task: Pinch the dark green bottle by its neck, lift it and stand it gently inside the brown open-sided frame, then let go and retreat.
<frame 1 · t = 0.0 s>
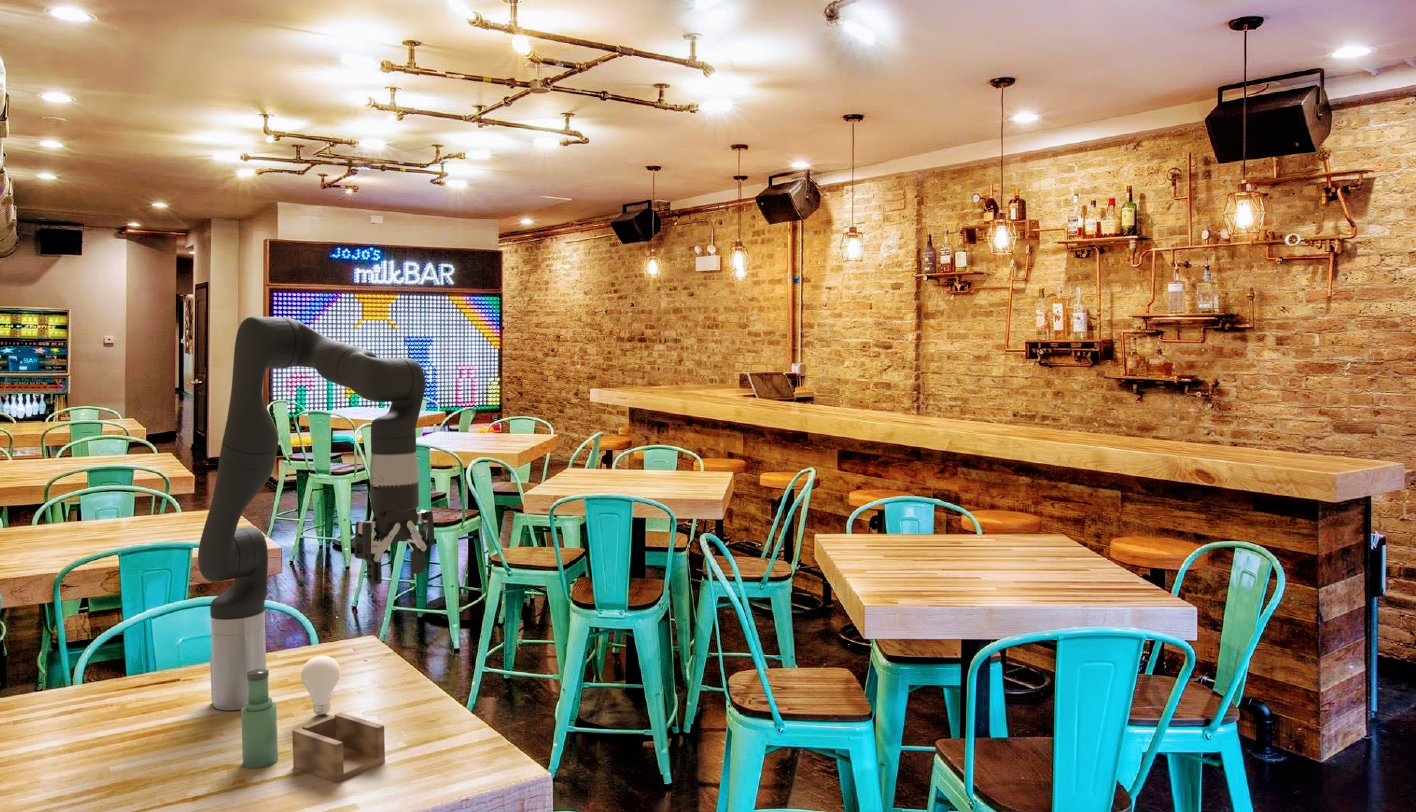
hand: (396, 578, 157), 29 cm above the table, fingers open, 8 cm apart
light bulb: (322, 716, 176), on the table
bottle: (260, 761, 156), on the table
brown open-sided frame: (339, 764, 154), on the table
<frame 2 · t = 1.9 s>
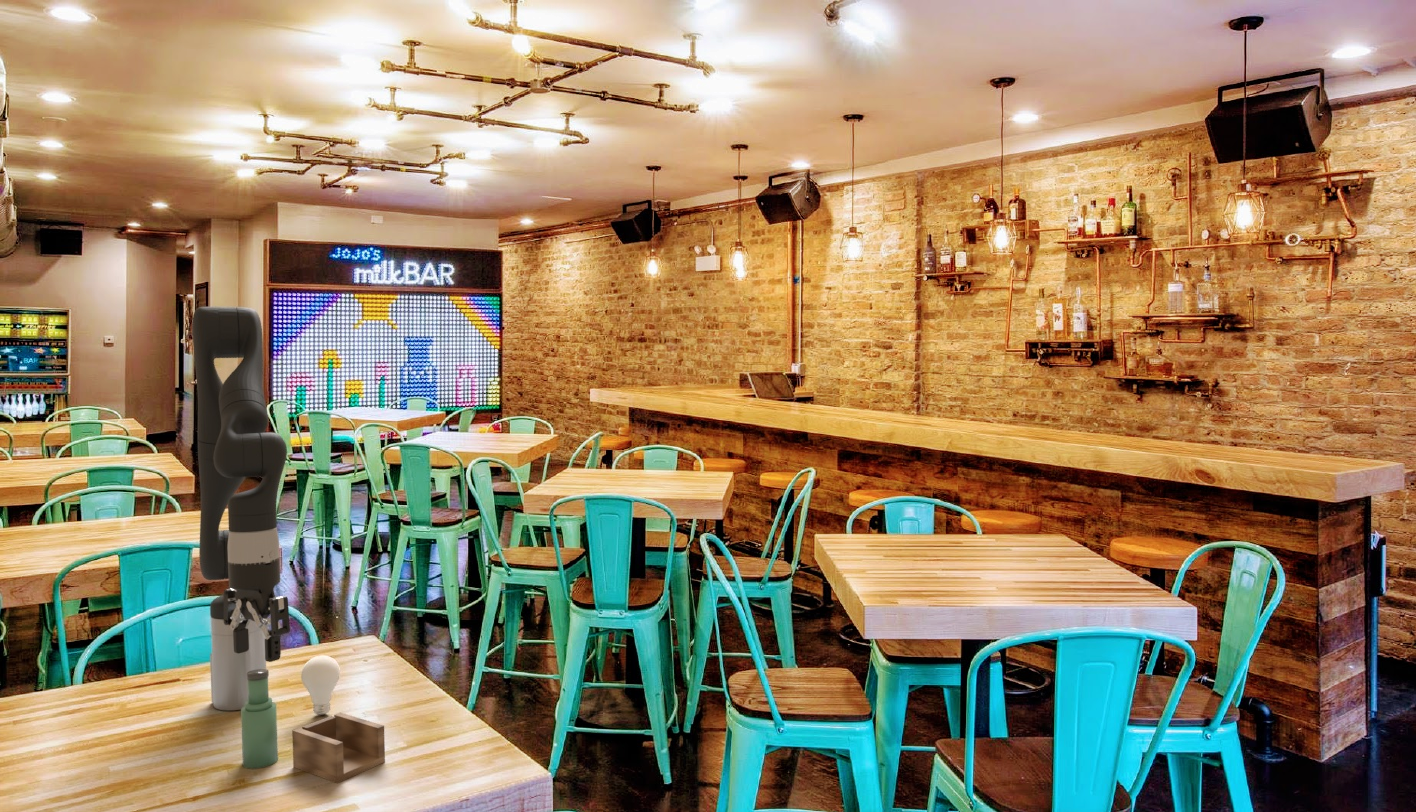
hand: (257, 656, 155), 17 cm above the table, fingers open, 8 cm apart
nothing on the table moved.
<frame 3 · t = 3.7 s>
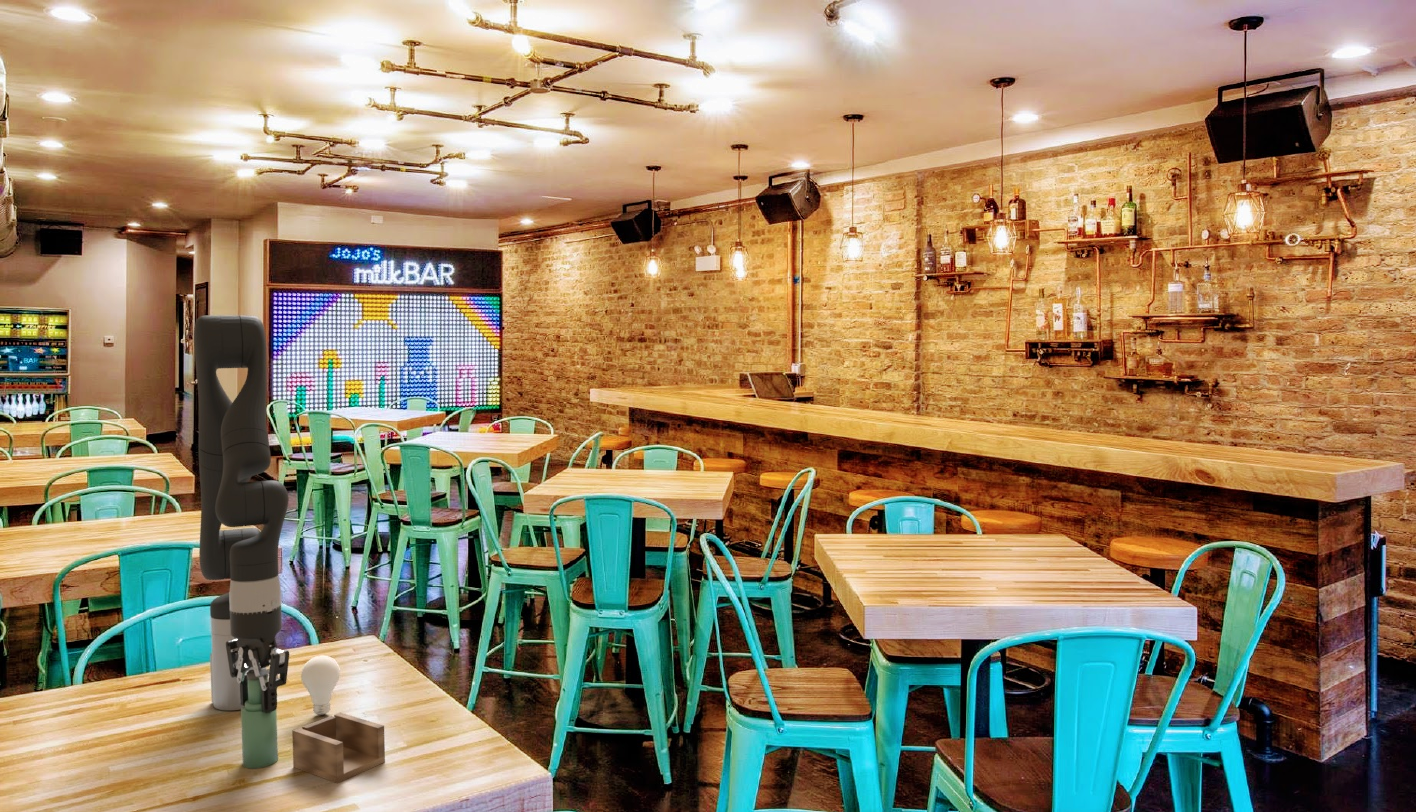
hand: (258, 707, 155), 9 cm above the table, fingers closed on bottle, 5 cm apart
bottle: (260, 761, 156), on the table, touching gripper
everything else where it was.
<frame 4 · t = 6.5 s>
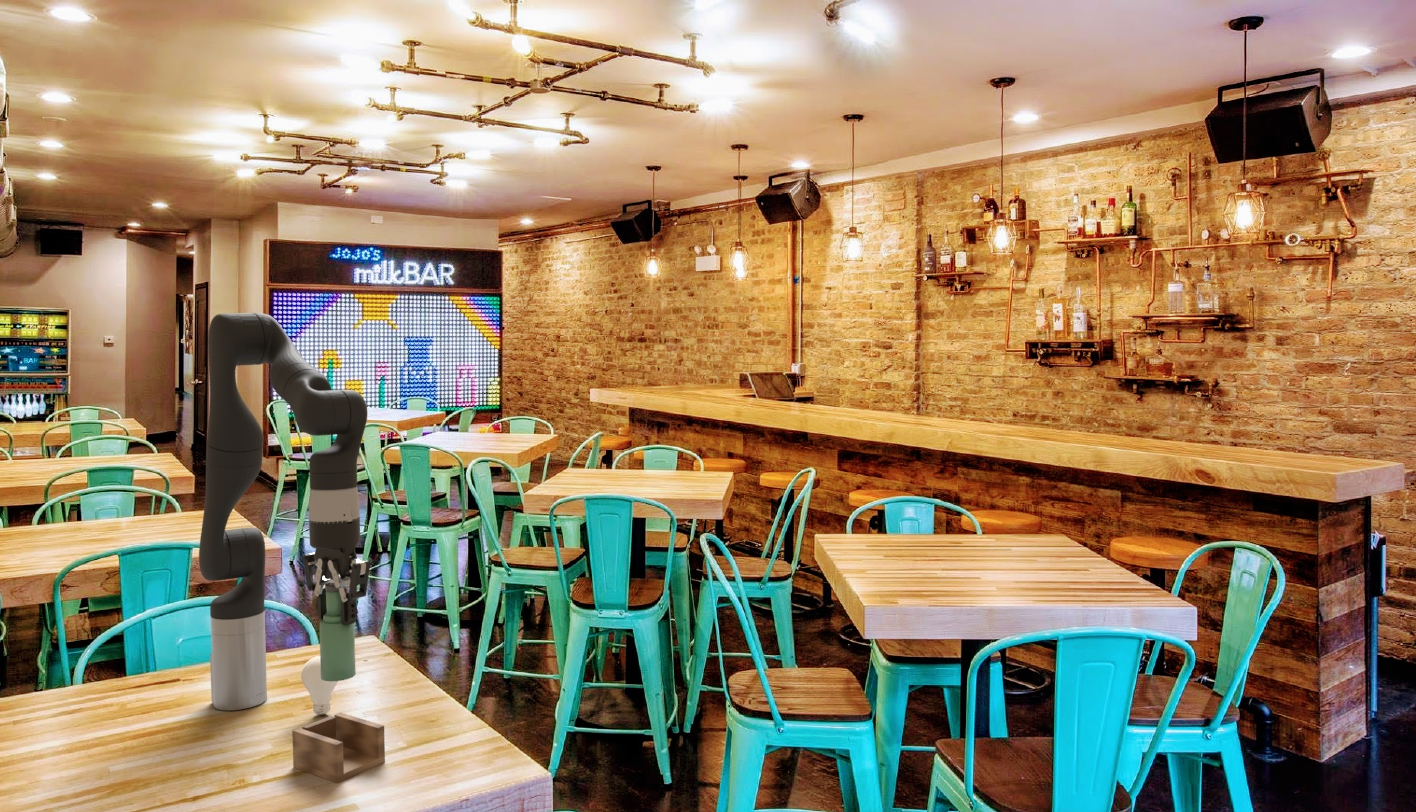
hand: (337, 620, 153), 24 cm above the table, fingers closed on bottle, 5 cm apart
bottle: (338, 675, 153), point 15 cm above the table, touching gripper
everything else where it was.
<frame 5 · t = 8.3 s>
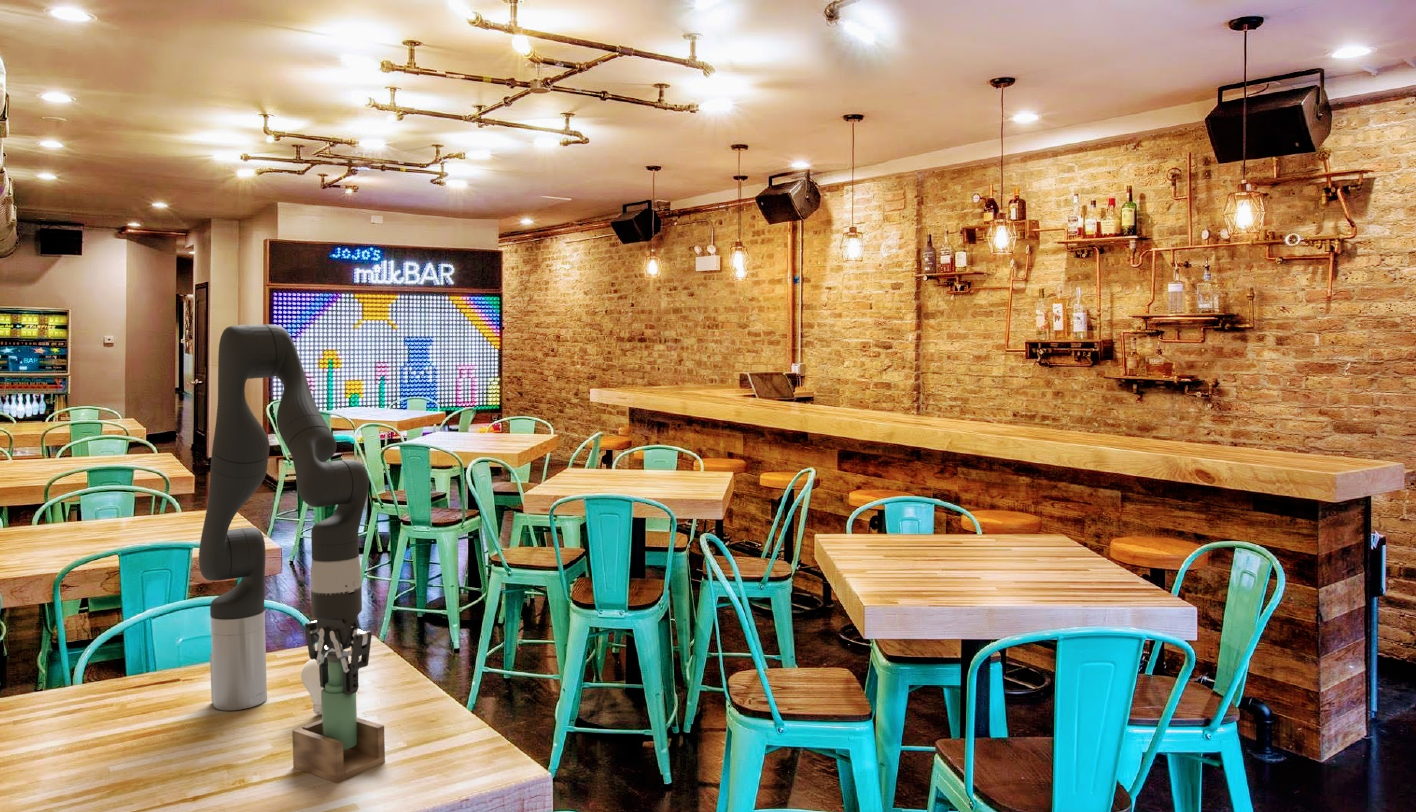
hand: (339, 689, 154), 12 cm above the table, fingers closed on bottle, 5 cm apart
bottle: (340, 744, 154), point 3 cm above the table, touching gripper
everything else where it was.
when the fingers open (11 cm above the table, at t = 9.8 s): bottle drops 1 cm, resting on brown open-sided frame.
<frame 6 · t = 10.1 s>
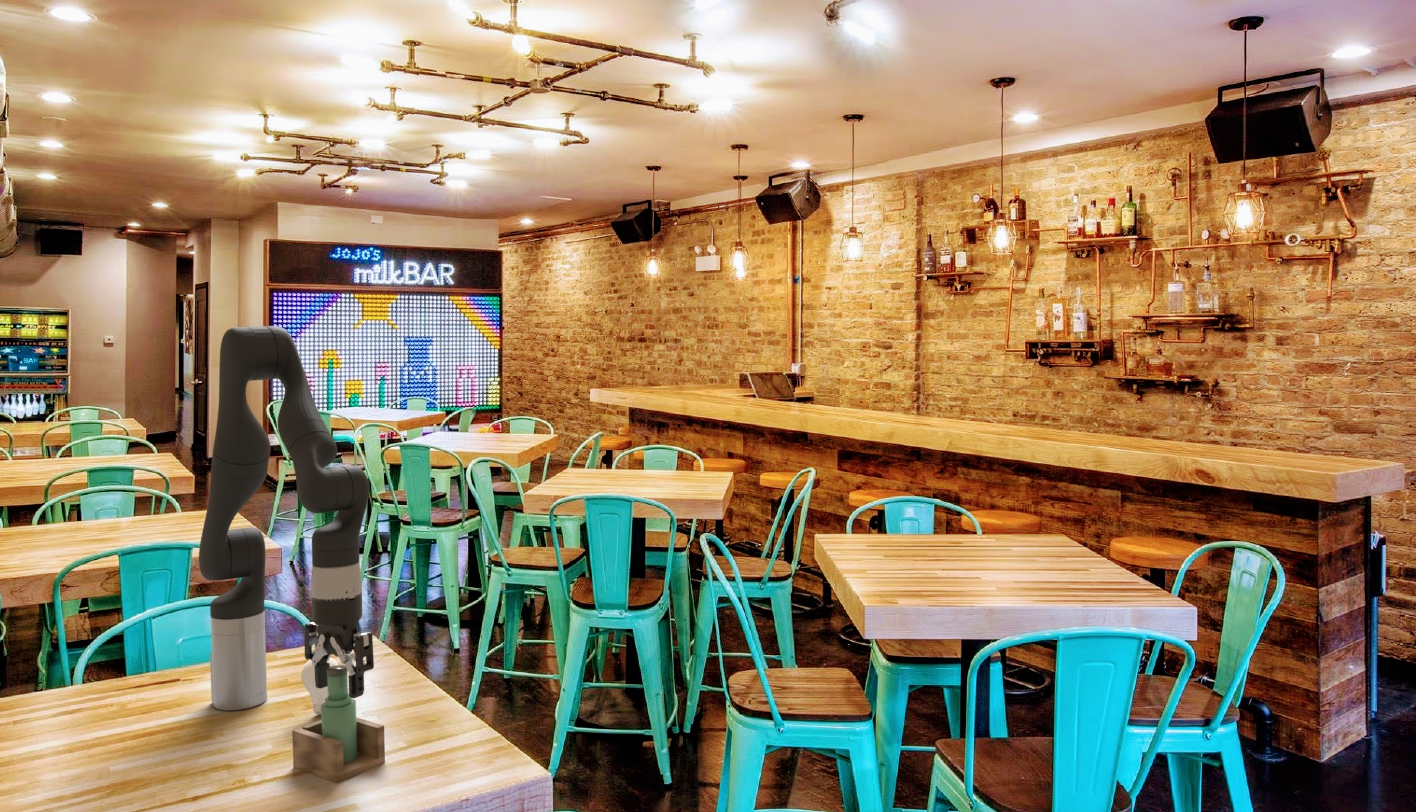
hand: (339, 691, 154), 12 cm above the table, fingers open, 8 cm apart
bottle: (340, 758, 154), point 1 cm above the table, touching brown open-sided frame
everything else where it was.
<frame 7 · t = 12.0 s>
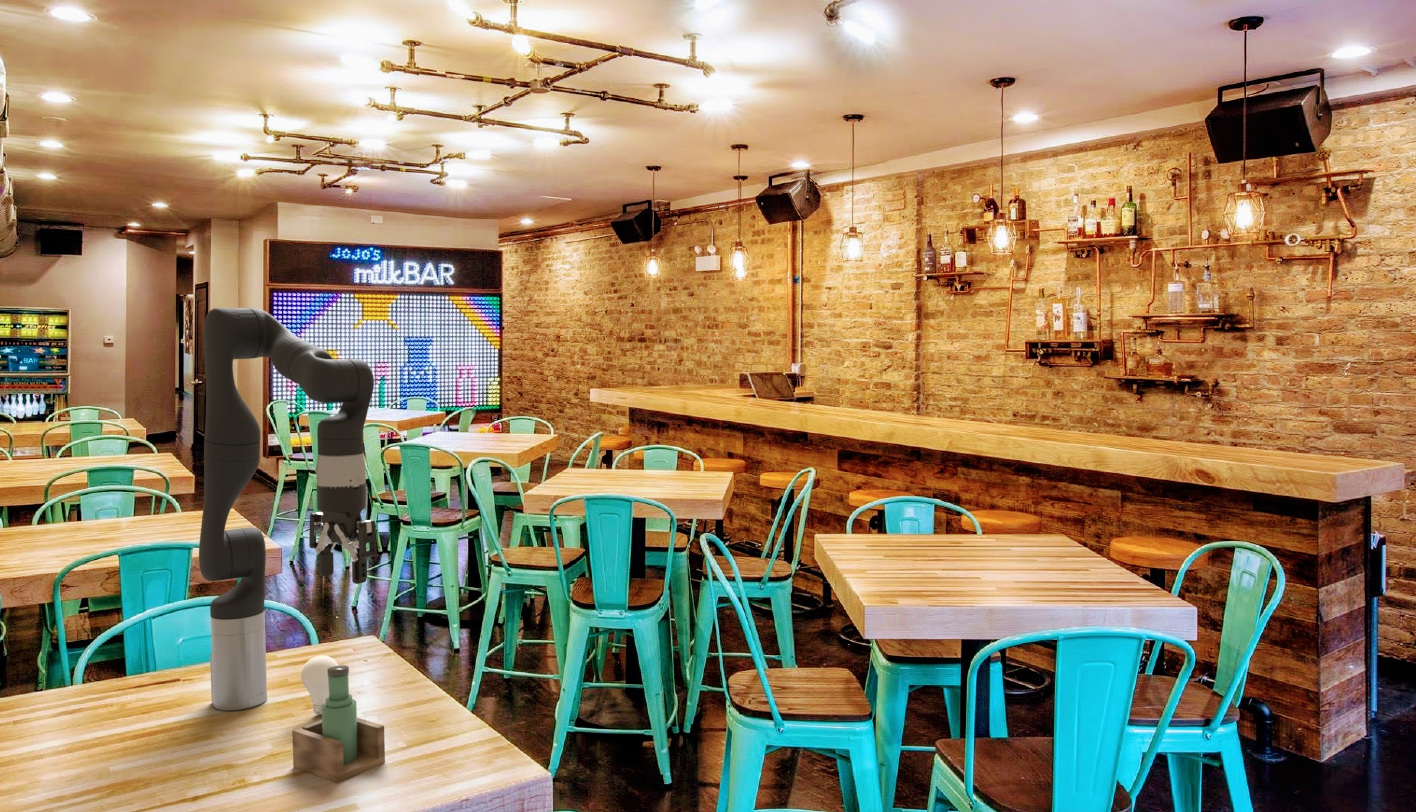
hand: (342, 579, 158), 29 cm above the table, fingers open, 8 cm apart
nothing on the table moved.
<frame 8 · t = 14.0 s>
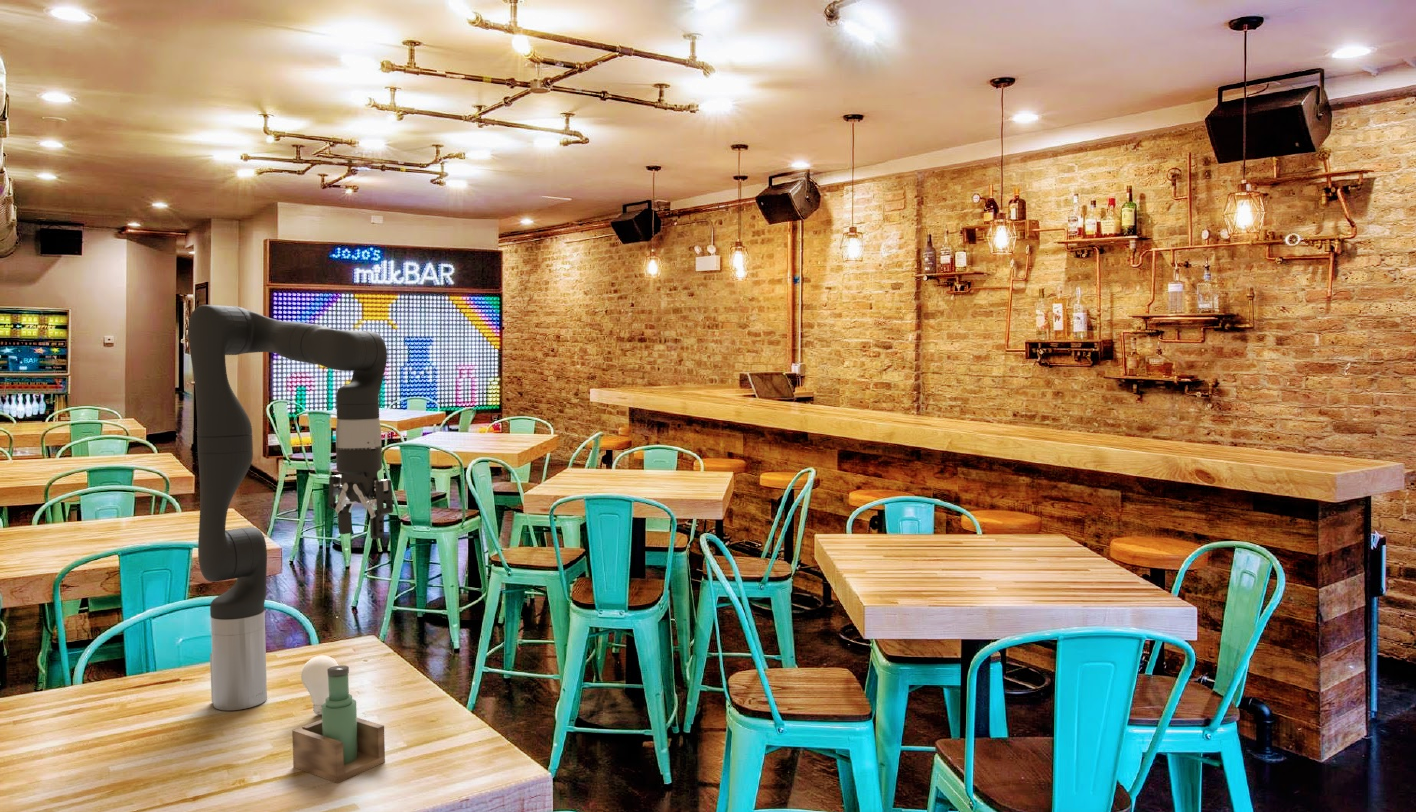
hand: (361, 536, 169), 34 cm above the table, fingers open, 8 cm apart
nothing on the table moved.
at the end: bottle inside the target area on the brown open-sided frame (0.1 cm from its centre), point 1.0 cm above the brown open-sided frame's base; bottle tilted 0°; the gripper is holding nothing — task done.
